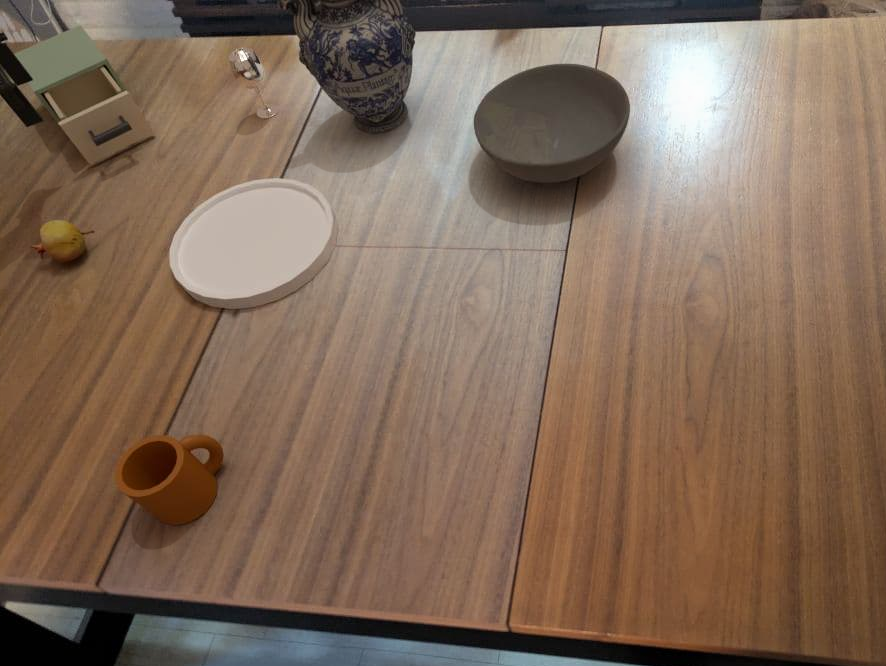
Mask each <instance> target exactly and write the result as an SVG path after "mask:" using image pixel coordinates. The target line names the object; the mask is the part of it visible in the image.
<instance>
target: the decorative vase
mask: <svg viewBox="0 0 886 666" xmlns="http://www.w3.org/2000/svg"><path fill="white" fill-rule="evenodd" d="M276 2H277V8H278V9H279V10H284V11H288V10H290V13H292V14H293V26H294V31H295V34H296V36H297V38H298V39H299V41H298V46H299V51H298V60H299V62H300V63H301V64H302V65H303V66H305V68H306V70H307V71H308V72H309V73H310V75H311V76H312V77H314V78H315V80H316V82H317V83H318V85H319V87H320V88H321V89H322V91H323V92H324V93H325V94H326V95H327V96H328V97H329V98H330V99H331V100H332V102H334V104H336V106H338V107H339V108H340V109H342V110H344V111H345V112H347V113H349V114H350V115H353V116H352V118H353V123H354V125H355V126H356V128H357V129H359V130H360V131H362V132H364V133H369V134H380V133H385V132H389V131H392V130H394V129H395V128H398V127H399V126H400V125H401V124H403V123H404V122H405V120H406V119H407V117H406V116H408V112H409V110H408V106H407V104H406V102H405V101H404V100H405V97H406V95H407V93H408V91H409V87H410V84H411V79H412V74H413V73H412V72H413V62H414V61H413V50H414V46H415V44H416V41H415V38H416V35H417V33H416V31H415V30H414V28H413V26H412V24H410V23H409V20H408V19H409V18H408V17H406V16H405V15H404V13H403V7H402V3H401V2H400V0H319V1H317V2H316V3H315V1H314V0H276ZM405 118H406V119H405ZM397 126H398V127H397ZM391 129H392V130H391Z"/></svg>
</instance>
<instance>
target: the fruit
mask: <svg viewBox="0 0 886 666" xmlns="http://www.w3.org/2000/svg"><path fill="white" fill-rule="evenodd" d="M94 233H95V230H92V229H91V230H87V231H83V232H82V231H80V229H79V228H78V227H77V226H76V225H75V224H73V223H71V222H70V221H67V220H65V219H64V220H63V219H54V220H50V221H48V222H46V223H44V224H43V225H42V226H41V228H40V229H39V238H40V242H41V243H40V244H33V245H30V246H29V247H30V249H34V250H36V252H35V255H36V256H38V255H40V258H41V260H44V257H43V256H44V254H45V253H47V255H48V256H49V257H51V258H52V259H53V260H55V261H57V262H59V263H60V262H61V263H62V262H63V263H64V262H65V263H67V262H71V261H73V260H76V259H77V258H79V257H80V256H81V255H83V254H84V252H85V250H86V238H85V236H84V235H90V234H94Z"/></svg>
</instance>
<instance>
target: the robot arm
mask: <svg viewBox="0 0 886 666" xmlns="http://www.w3.org/2000/svg"><path fill="white" fill-rule="evenodd" d="M8 40H9V38H8V36H7V35H6V33H5V32H4V31H3V32H0V97H1V98H2V99H3V101H4V102H5V103H6V104H7V105H8V106H9V109H11V110H12V112H14V114H15V115H16V117H18V118H19V120H20V121H21V122H22V123H23V125H24V126H25V127H26V128H30V127H31V126H35V125H37V124H40V123H42V122H44V119H43V118H44V117H42V116H41V114H40V113H39V112H38V110H36V108H35V107H34V106H33V104H32V103H31V102H30V101H29V99H28V98H27V96H25V94H24V93H23V92H22V90H21V89H20V88H19V87H18V86H21V85H22V86H23V85H24V84H28V83H27V82H30V81H33V78H32V77H31V76H30V74H29V73H28V72H27V70H26V69H25V68H24V66H23V65H22V64H21V63H20V61H19V60H18V59H17V57H16V56H15V55H14V54H15V53H14V52H13V51H12V50H11V48H10V47H9V46H8V44H7V43H6V42H5V41H8Z"/></svg>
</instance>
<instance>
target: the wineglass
mask: <svg viewBox="0 0 886 666" xmlns="http://www.w3.org/2000/svg"><path fill="white" fill-rule="evenodd" d="M228 62H229V66H230V69H231V73H232V74H233V77H234V79H235V81H236V82H237V84H239V85H240V87H242V88H244V89H247V90H253V89H254V91H255V94H256V95H257V96H258V98H259V99H260V101H261V103H262V106H260V107H259V108H258V109H257V110H256V116H257V117H258V118H259V119H264V120H266V119H270V118H272V117H274V116H276V115H277V114H278V113H279V110H280V109H279V106H278V105H276V104H274V103H268V104H266V102H265V100H264V98H263V94H262V90H261V88H260V87H261V86H263V84H264V83H265V82H266V77H267V74H266V70H265V67H264V65H263V63H262V61H261V60H260V58H259V57H258V55H257V53H256V52H255V51H254V50H253V49H252V48H251V47H240V48H236V49H234V50H233V51H231V52H230V53H229V55H228Z"/></svg>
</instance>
